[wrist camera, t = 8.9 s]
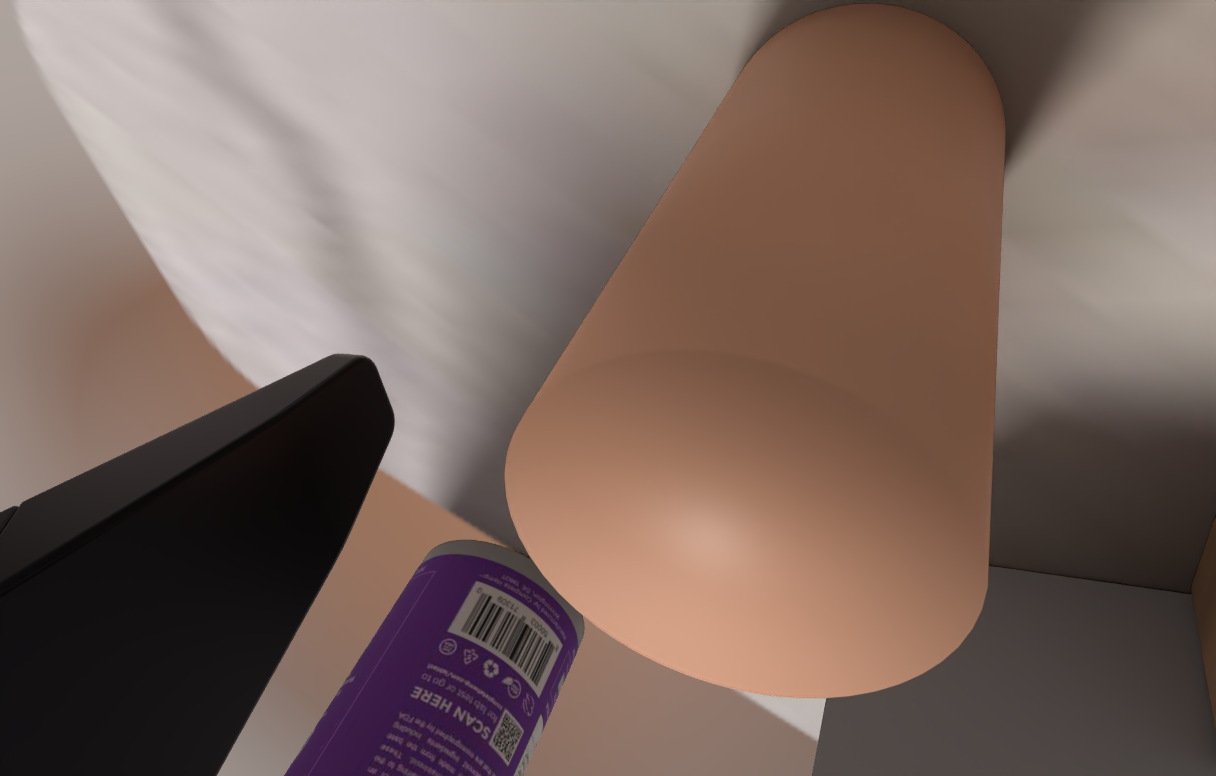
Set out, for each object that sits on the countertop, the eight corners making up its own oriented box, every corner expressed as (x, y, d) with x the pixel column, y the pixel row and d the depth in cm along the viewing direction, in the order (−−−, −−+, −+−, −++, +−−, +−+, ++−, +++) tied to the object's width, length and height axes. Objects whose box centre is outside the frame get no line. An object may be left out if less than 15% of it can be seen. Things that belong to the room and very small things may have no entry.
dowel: (1021, -8, 11) (1016, 373, 6) (991, 269, 14) (966, 737, 8) (711, 12, 13) (453, 333, 7) (733, 260, 15) (553, 652, 9)
